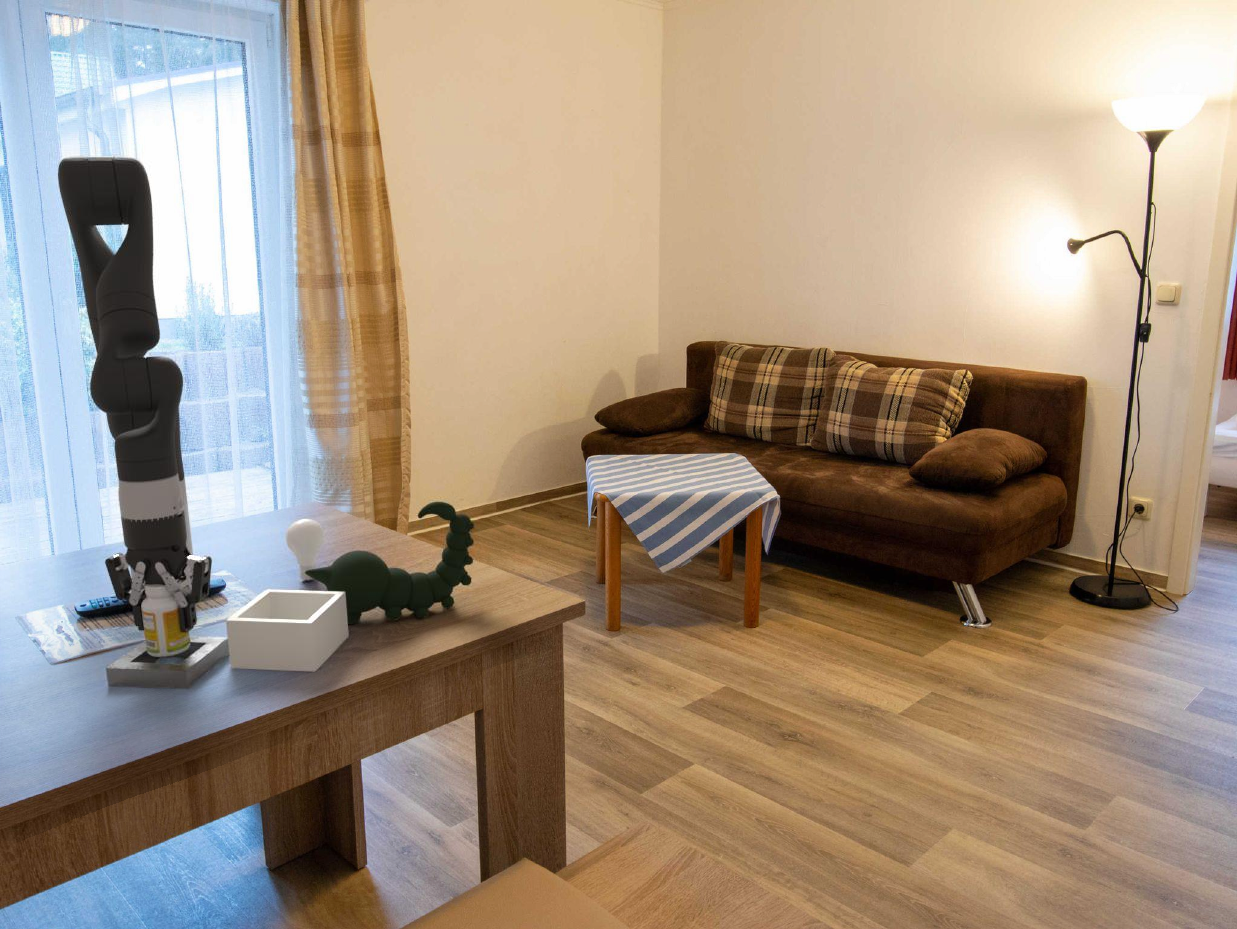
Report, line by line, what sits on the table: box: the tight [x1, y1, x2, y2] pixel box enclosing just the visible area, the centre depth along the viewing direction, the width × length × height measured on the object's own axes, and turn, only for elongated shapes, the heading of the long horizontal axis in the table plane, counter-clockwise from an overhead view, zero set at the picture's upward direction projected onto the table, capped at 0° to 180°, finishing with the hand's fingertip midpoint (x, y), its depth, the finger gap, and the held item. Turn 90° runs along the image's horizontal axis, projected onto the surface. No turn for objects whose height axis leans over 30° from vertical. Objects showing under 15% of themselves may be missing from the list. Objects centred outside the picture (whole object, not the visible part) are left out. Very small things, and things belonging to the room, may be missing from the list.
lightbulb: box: [285, 518, 326, 582], centre depth 163 cm, size 6×6×11 cm
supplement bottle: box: [141, 580, 191, 657], centre depth 128 cm, size 5×5×10 cm
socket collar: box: [105, 635, 230, 690], centre depth 129 cm, size 11×11×2 cm
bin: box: [225, 588, 349, 673], centre depth 134 cm, size 12×12×7 cm
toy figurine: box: [305, 501, 475, 625], centre depth 146 cm, size 9×19×25 cm
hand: (166, 628), depth 129 cm, fingers closed on supplement bottle, 5 cm apart
